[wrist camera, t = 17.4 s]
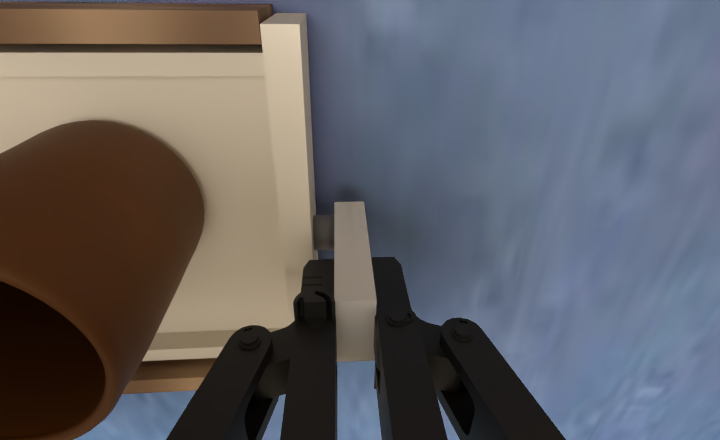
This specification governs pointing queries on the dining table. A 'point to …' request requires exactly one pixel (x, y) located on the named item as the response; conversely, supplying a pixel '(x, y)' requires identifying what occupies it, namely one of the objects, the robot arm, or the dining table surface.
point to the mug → (86, 269)
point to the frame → (138, 28)
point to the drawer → (201, 160)
